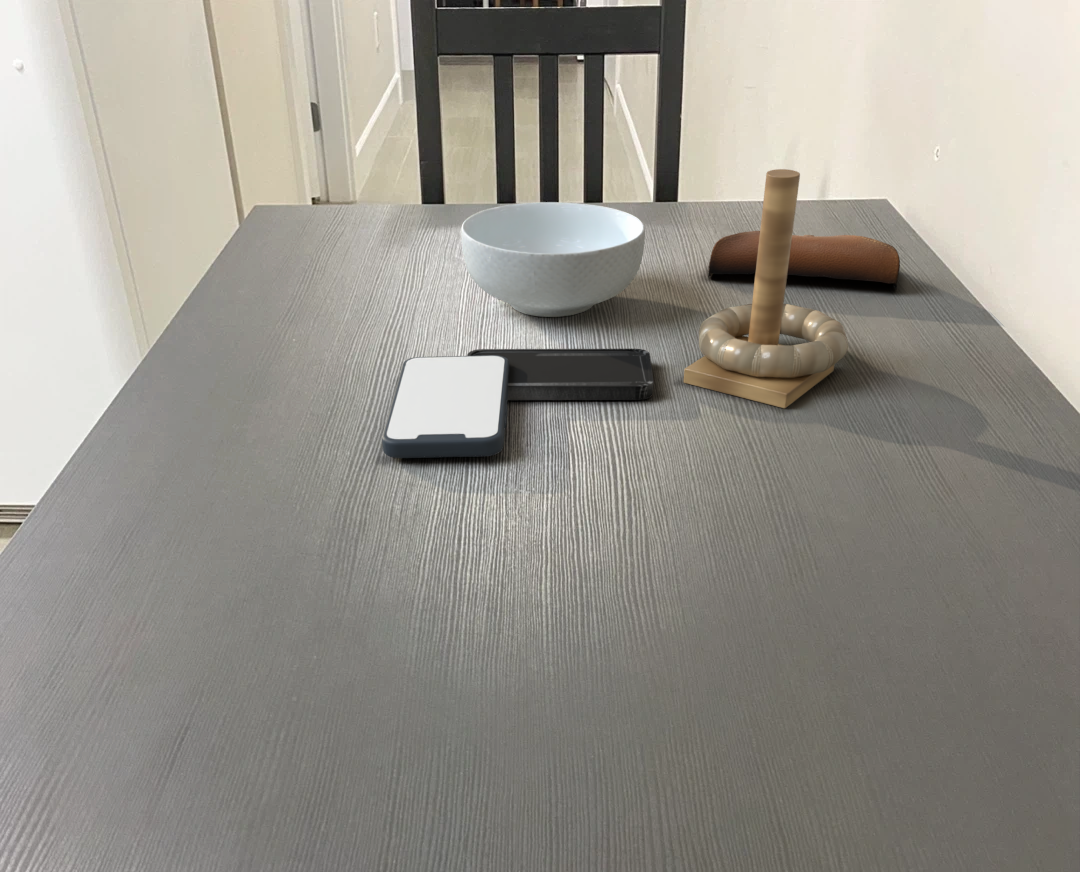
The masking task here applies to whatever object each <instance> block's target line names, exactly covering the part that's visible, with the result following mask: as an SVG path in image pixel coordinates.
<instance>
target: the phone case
mask: <svg viewBox="0 0 1080 872" xmlns="http://www.w3.org/2000/svg"><path fill="white" fill-rule="evenodd" d="M508 379H509V360H508V359H507V358H505V357H503V356H499V355H481V356H467V355H447V356H446V355H444V356H414V357H410V358H407V359H406V360H404V361H403V362H402V364H401V368H400V372H399V376H398V379H397V382H396V386H395V389H394V393H393V397H392V400H391V403H390V407H389V409H388V413H387V417H386V421H385V425H384V428H383V431H382V435H381V444H382V451H383V454H385V455H386V456H387V457H390V458H394V459H428V458H432V459H433V458H476V457H491V456H494V455H497V454H499V453H501V452H502V450H503V449H504V444H505V433H506V428H507V422H508V413H509V412H508V400H507V398H508Z"/></svg>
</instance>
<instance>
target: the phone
mask: <svg viewBox="0 0 1080 872" xmlns="http://www.w3.org/2000/svg"><path fill="white" fill-rule="evenodd" d="M481 355H499V356H503V357H505V358H507V359H508V360H509V379H508V398H507V401H641V400H647V399H650V398H651V397H652V396H653V392H654V375H653V368H652V361H651V354H650V352H649V351H648V350H647V349H643V348H478V349H472V350H470V351H468V353H467V355H466V356H481Z"/></svg>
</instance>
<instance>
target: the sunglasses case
mask: <svg viewBox="0 0 1080 872" xmlns="http://www.w3.org/2000/svg"><path fill="white" fill-rule="evenodd" d="M759 237H760V230H751V231H743V232H737V233H734V234H730V235H725V236H723V237H721V238H719V239H718V240H717V241H716V242H715V243H714V246H713V248H712V250H711V253H710V258H709V263H708V271H707V272H708V276H707V278H709V277H713V274H714V275H753V274H754V275H755V273H756V264H757V255H758V246H759ZM899 254H900V253H898V251H897V249H896V248H895V247H894V246H893V245H891V244H889V243H887V242H884V241H880V240H878V239H875V238H871V237H868V236H867V237H866V236H862V235H853V234H839V235H838V234H837V235H829V236H828V235H827V236H826V235H825V236H820V235H819V236H817V235H816V236H815V235H813V234H803V235H800V234H799V235H796V234H792V242H791V250H790V257H789V265H788V273H787V276H789V275H790V276H799V277H824V278H829V279H836V280H852V281H866V282H877V283H883V284H889V285H890V284H893V285H892V286H893V288H894V289H895V290H896V291H897V288H898V283H899V282H898V281H899V275H900V269H901V259H900V255H899Z"/></svg>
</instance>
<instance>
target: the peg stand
mask: <svg viewBox="0 0 1080 872" xmlns="http://www.w3.org/2000/svg"><path fill="white" fill-rule="evenodd" d="M800 178H801V173H800V172H799V171H797V170H793V169H785V168H778V169H777V168H776V169H770V170H768V171H767V172H766V174H765V183H764V192H763V193H764V194H763V201H762V211H761V218H760V219H761V220H760V228H759V231H760V237H759V246H758V255H757V264H756V273H754V283H753V291H752V292H753V293H752V301H751V304H752V310H751V319H750V328H749V335H748V336H746V335H743V336H738V337H735V338H736V339H740V340H744V341H748V342H753V343H757V344H761V345H782V344H780V343H779V342H780V336H781V334H780V328H781V320H782V312H783V304H785V297H786V296H785V295H786V288H787V279H788V274H787V273H788V265H789V257H790V250H791V242H792V235H794V234H793V233H794V226H795V225H794V224H795V219H796V218H795V217H796V211H797V204H798V203H797V202H798V194H799V186H800ZM835 364H836V363H835ZM835 364H834V365H833V366H831V367H830V368H829V369H827V370H826V371H824V372H820V373H815V374H810V375H805V376H800V377H795V378H772V377H754V376H750V375H746V374H742V373H738V372H734V371H730V370H726V369H724V368H722V367H720V366H719V365H717V364H716V363H714V362H713V361H711V360H710V359H708V358H707V357H705V356H704V355H703V356H702V357H700V358H699V359H697V360H695V361H694V362H693V363H691V364H690V365H688V366H686V367H684V369H683V371H684V372H683V384H687V385H692V386H695V387H699V388H703V389H707V390H711V391H714V392H718V393H723V394H726V395H731V396H733V397H734V396H735V397H738V398H741V399H746V400H749V401H753V402H758V403H762V404H766V405H769V406H773V407H777V408H781V409H786V408H788V407H789V406H791V404H793V403H794V402H796V401H797V400H798V399H799V398H800V397H802V396H803V395H805V394H806V393H808V391H810V390H811V389H812V388H813V387H814V386H817V384H818V383H820V382H821V381H823V380H824V379H825V378H826V377H828V376H829V375H830V374H832V373H833V372H834V370H835Z"/></svg>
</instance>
